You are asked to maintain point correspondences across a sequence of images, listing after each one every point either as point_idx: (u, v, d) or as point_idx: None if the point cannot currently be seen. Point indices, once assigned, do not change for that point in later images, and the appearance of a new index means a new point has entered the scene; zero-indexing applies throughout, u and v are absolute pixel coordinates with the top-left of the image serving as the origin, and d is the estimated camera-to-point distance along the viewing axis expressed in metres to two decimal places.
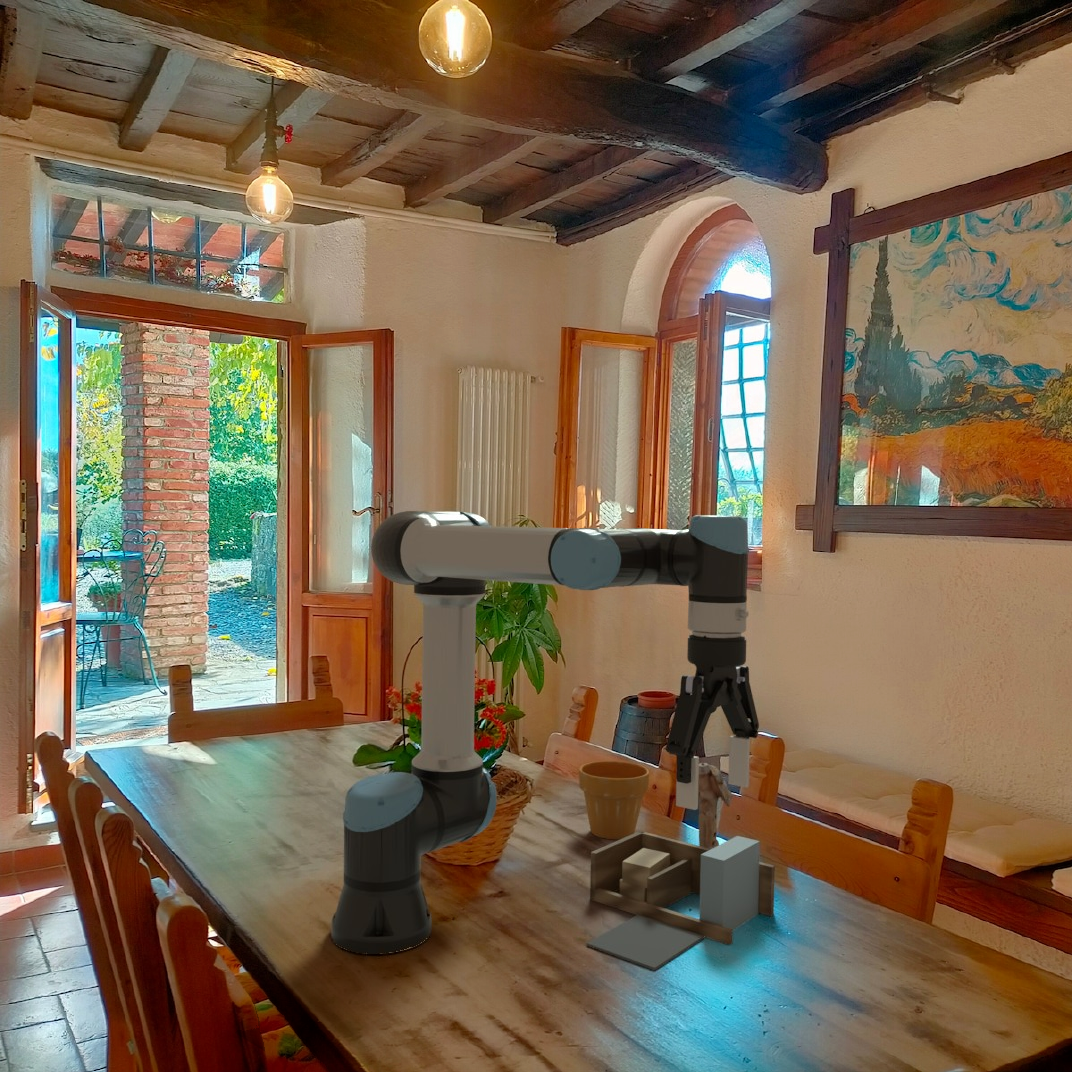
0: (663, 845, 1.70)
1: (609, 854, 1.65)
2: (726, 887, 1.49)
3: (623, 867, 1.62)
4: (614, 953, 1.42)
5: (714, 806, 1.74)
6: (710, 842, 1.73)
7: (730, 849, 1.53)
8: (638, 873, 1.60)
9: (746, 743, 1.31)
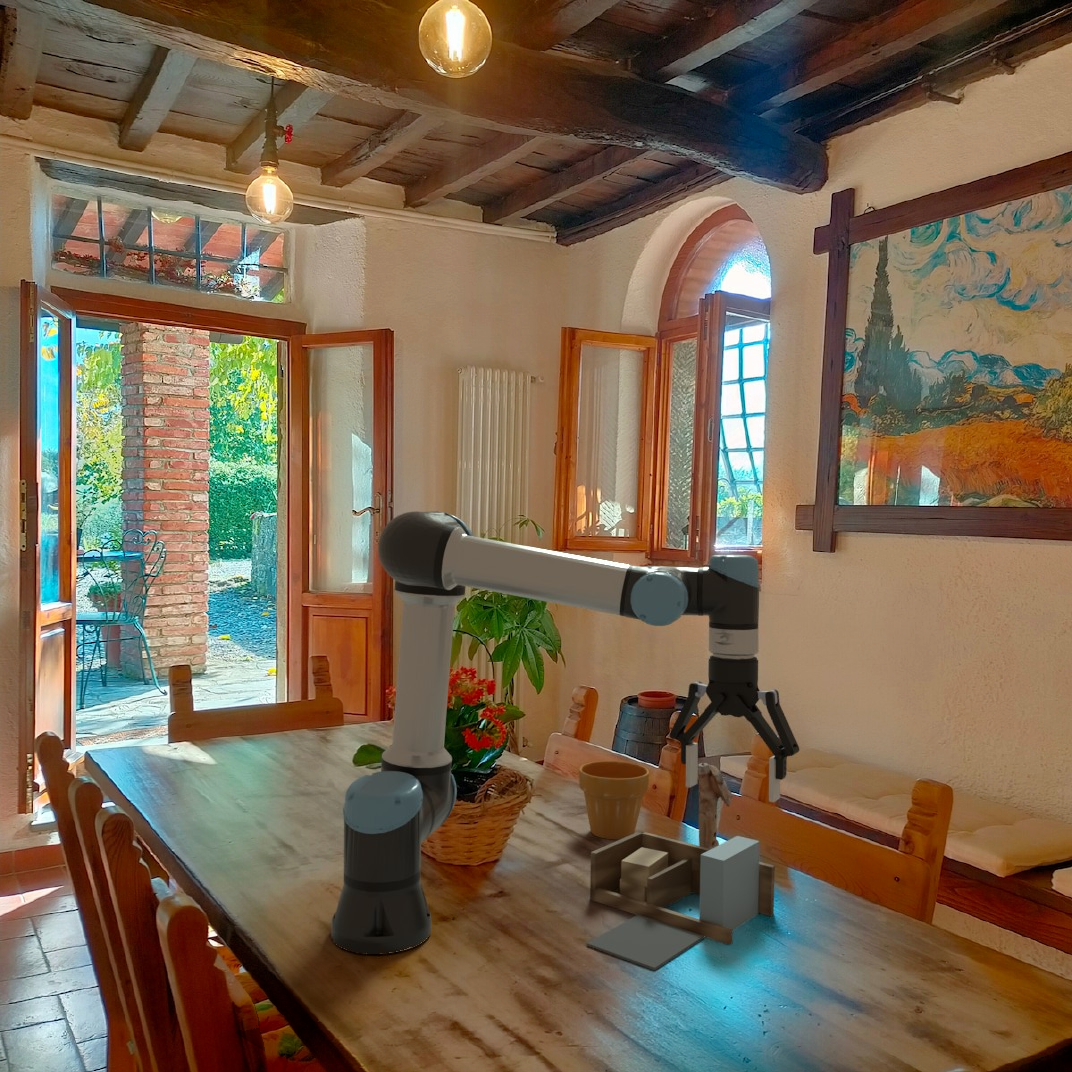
0: (663, 845, 1.70)
1: (609, 854, 1.65)
2: (726, 887, 1.49)
3: (622, 866, 1.62)
4: (614, 953, 1.42)
5: (714, 806, 1.74)
6: (710, 842, 1.73)
7: (730, 849, 1.53)
8: (637, 872, 1.61)
9: (769, 761, 1.45)
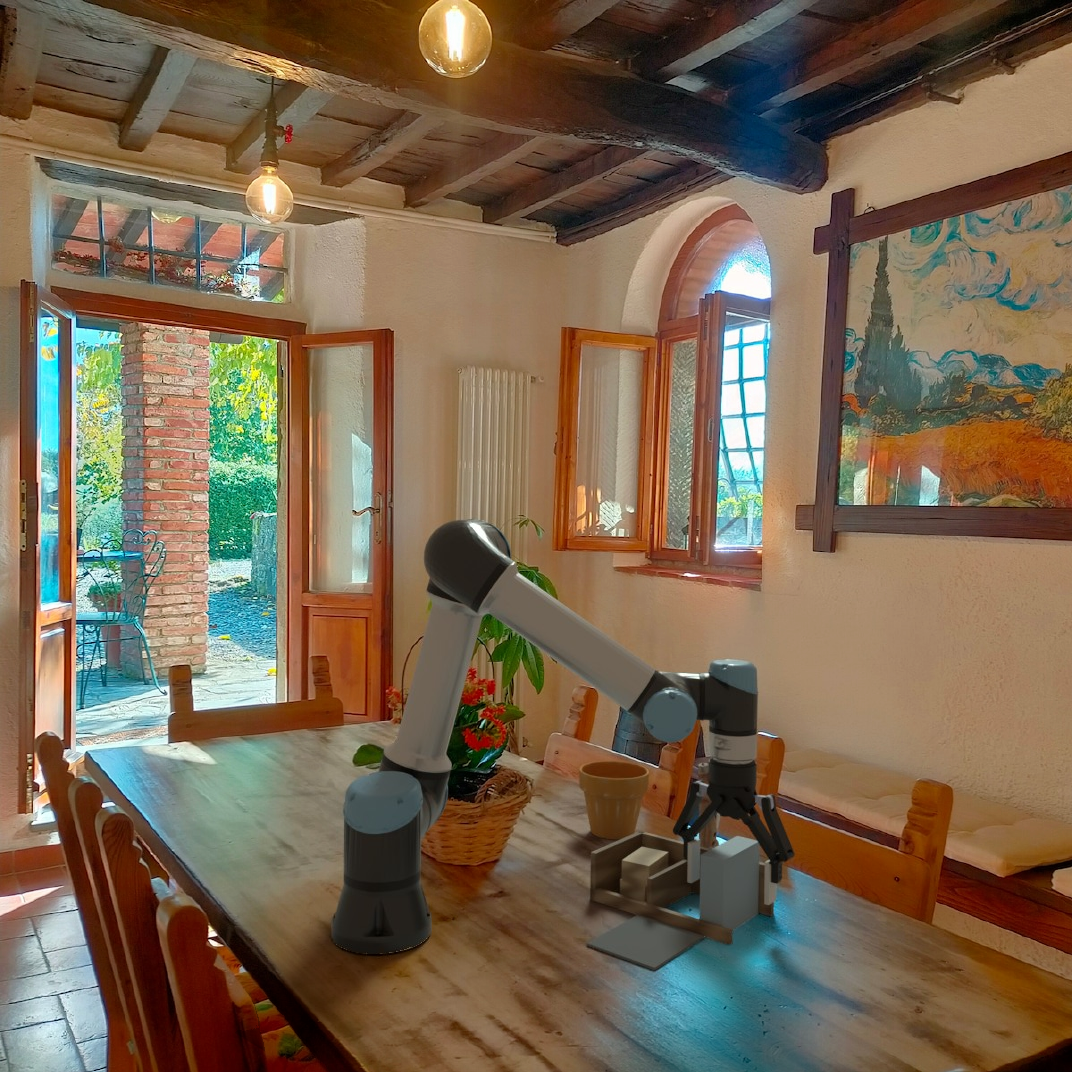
0: (663, 845, 1.70)
1: (609, 854, 1.65)
2: (726, 887, 1.49)
3: (622, 866, 1.62)
4: (614, 953, 1.42)
5: None
6: (710, 842, 1.73)
7: (730, 849, 1.53)
8: (637, 872, 1.61)
9: (765, 865, 1.49)
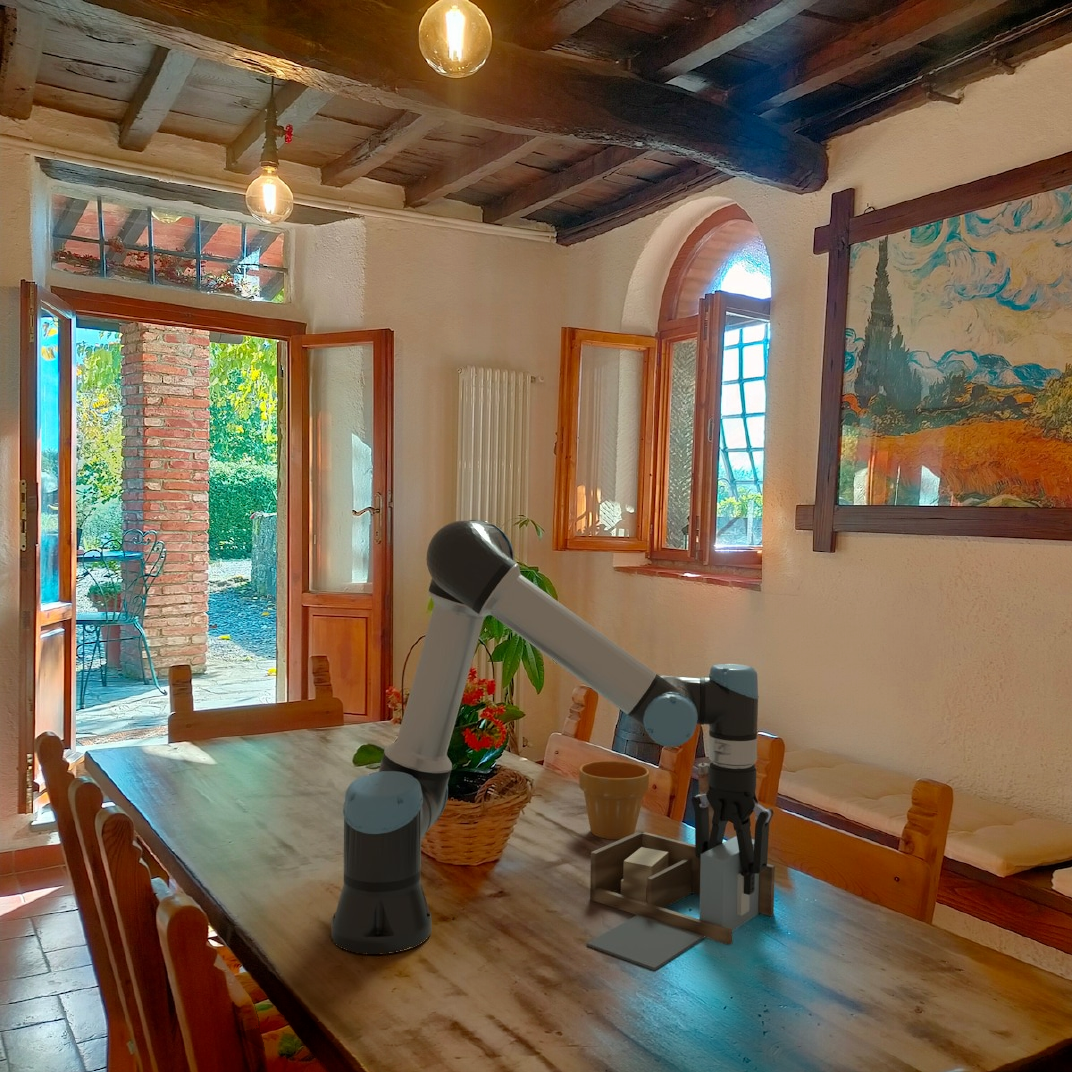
0: (663, 845, 1.70)
1: (609, 854, 1.65)
2: (726, 886, 1.49)
3: (624, 867, 1.62)
4: (614, 953, 1.42)
5: None
6: None
7: (730, 849, 1.53)
8: (640, 872, 1.61)
9: None
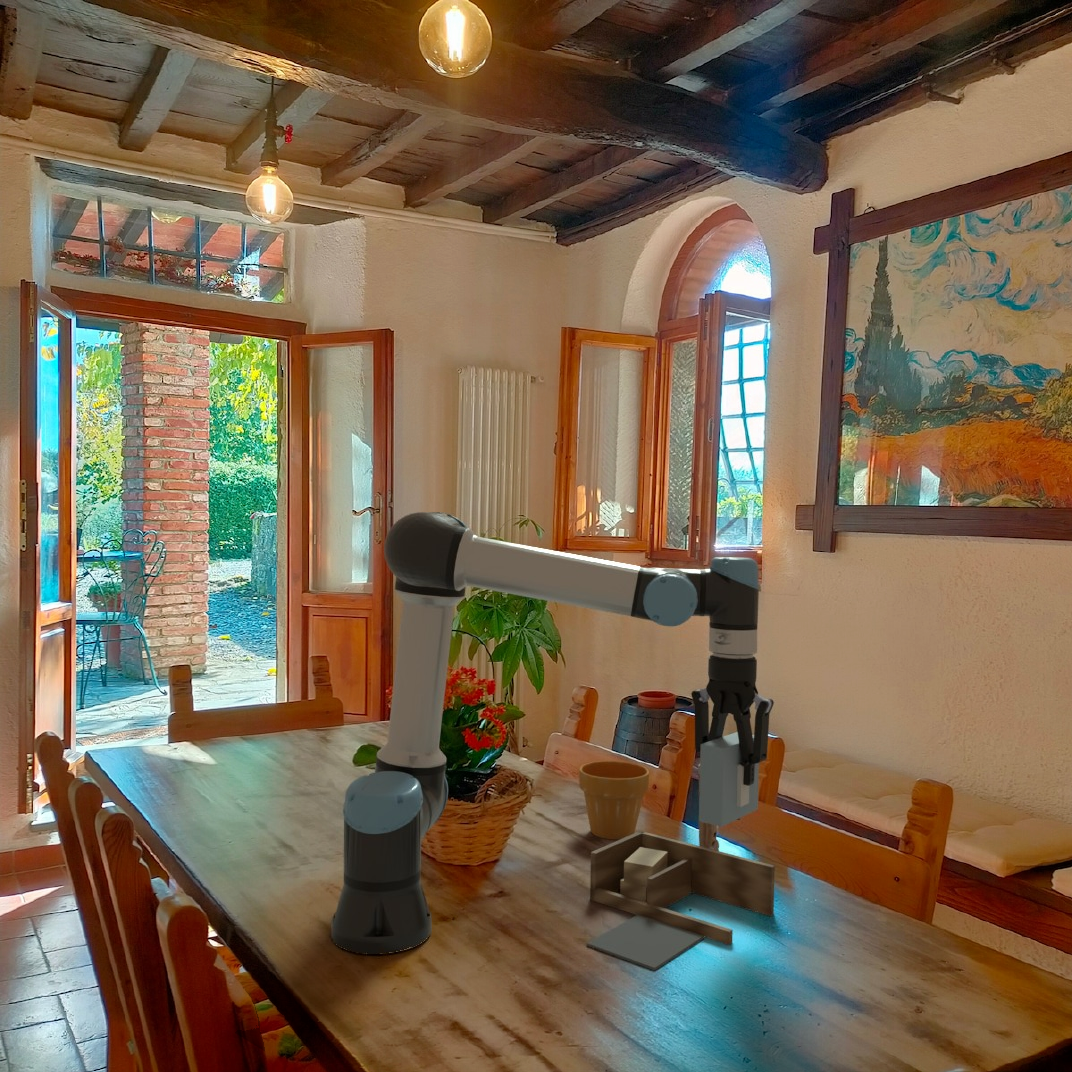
0: (663, 845, 1.70)
1: (609, 854, 1.65)
2: (726, 775, 1.49)
3: (625, 867, 1.62)
4: (614, 953, 1.42)
5: None
6: (710, 842, 1.73)
7: (730, 741, 1.53)
8: (640, 873, 1.61)
9: None
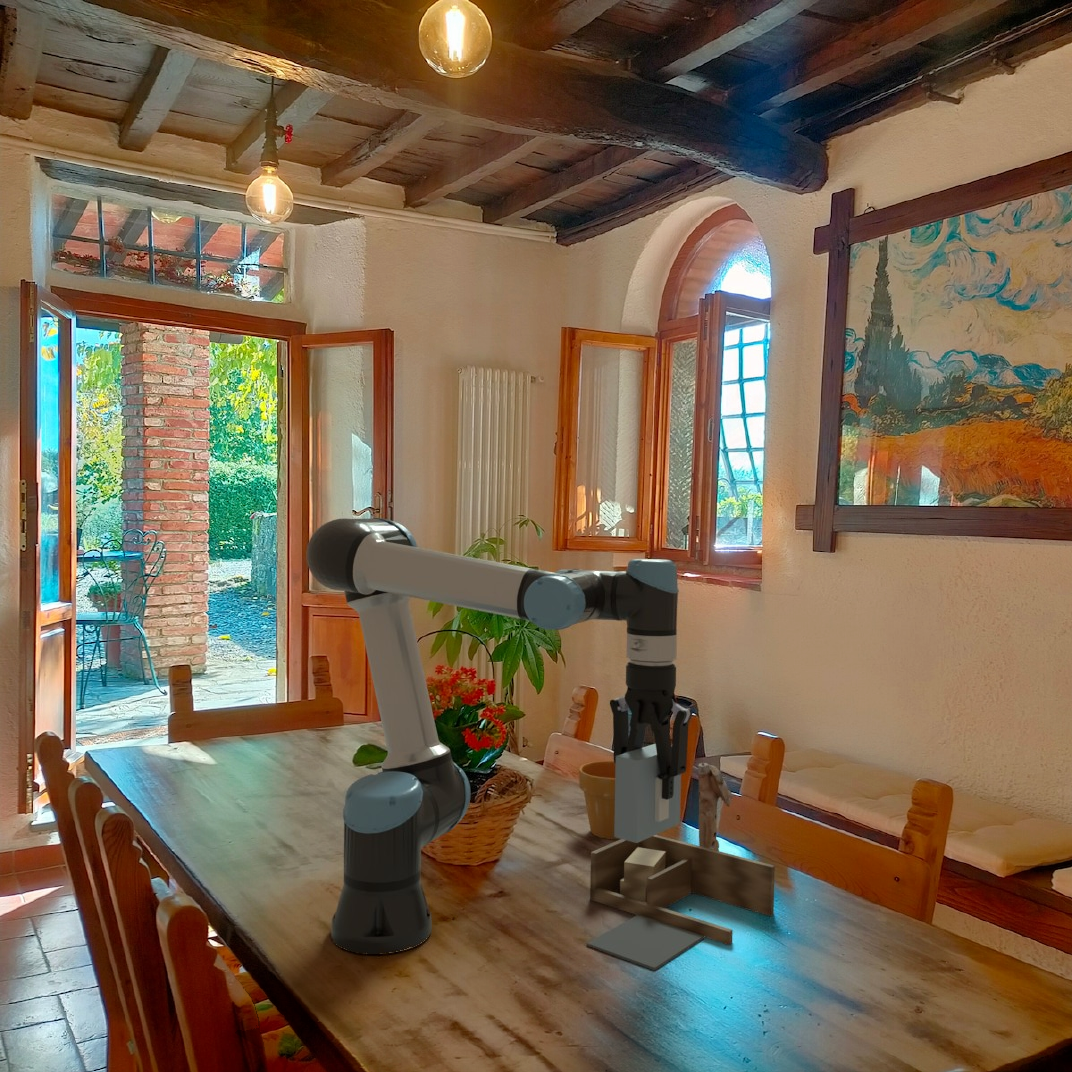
0: (663, 845, 1.70)
1: (609, 854, 1.65)
2: (642, 789, 1.41)
3: (625, 867, 1.62)
4: (614, 953, 1.42)
5: (714, 806, 1.74)
6: (710, 842, 1.73)
7: (648, 752, 1.45)
8: (641, 873, 1.61)
9: (655, 780, 1.44)
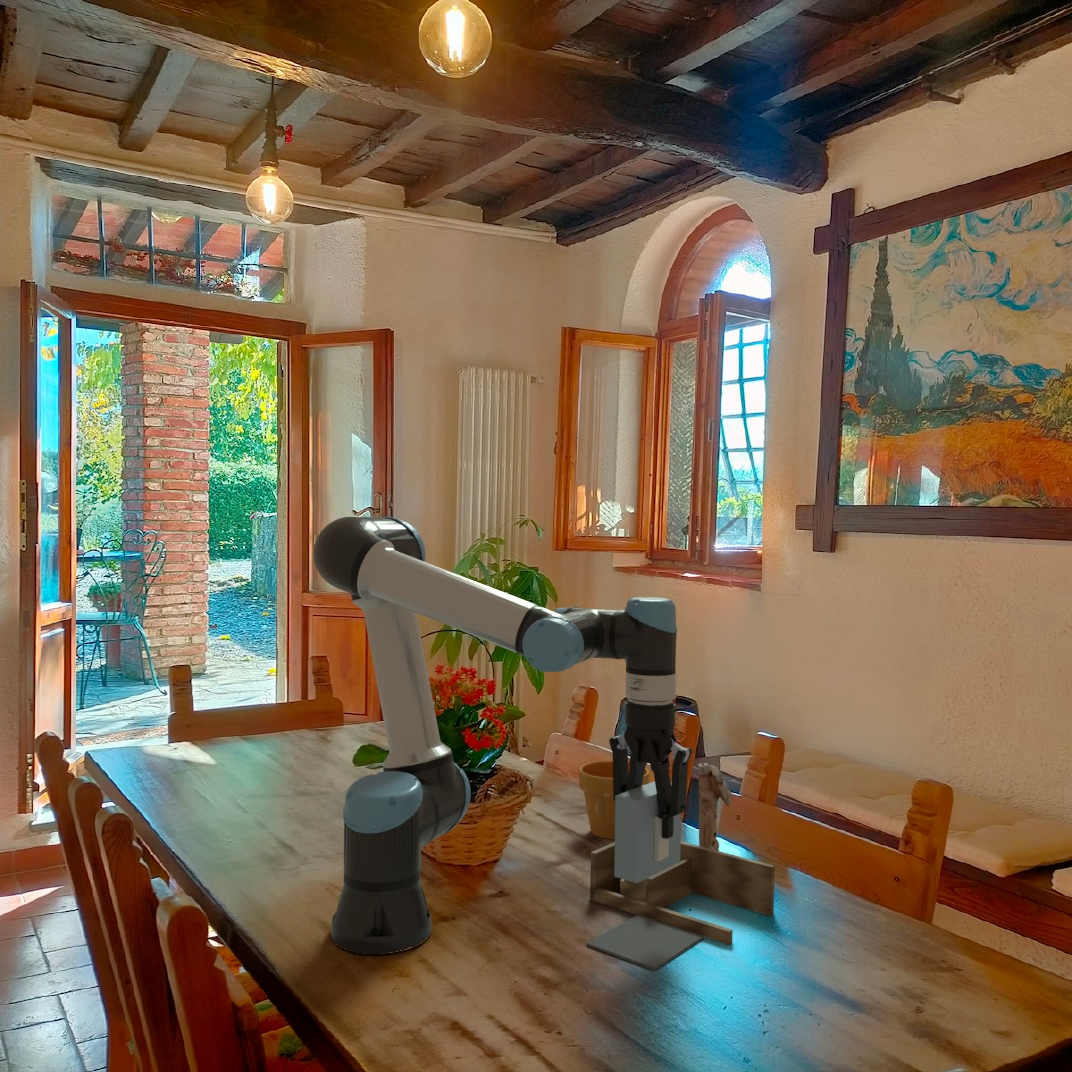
0: None
1: (609, 854, 1.65)
2: (642, 829, 1.41)
3: None
4: (614, 953, 1.42)
5: (714, 806, 1.74)
6: (710, 842, 1.73)
7: (648, 791, 1.45)
8: None
9: (655, 820, 1.44)
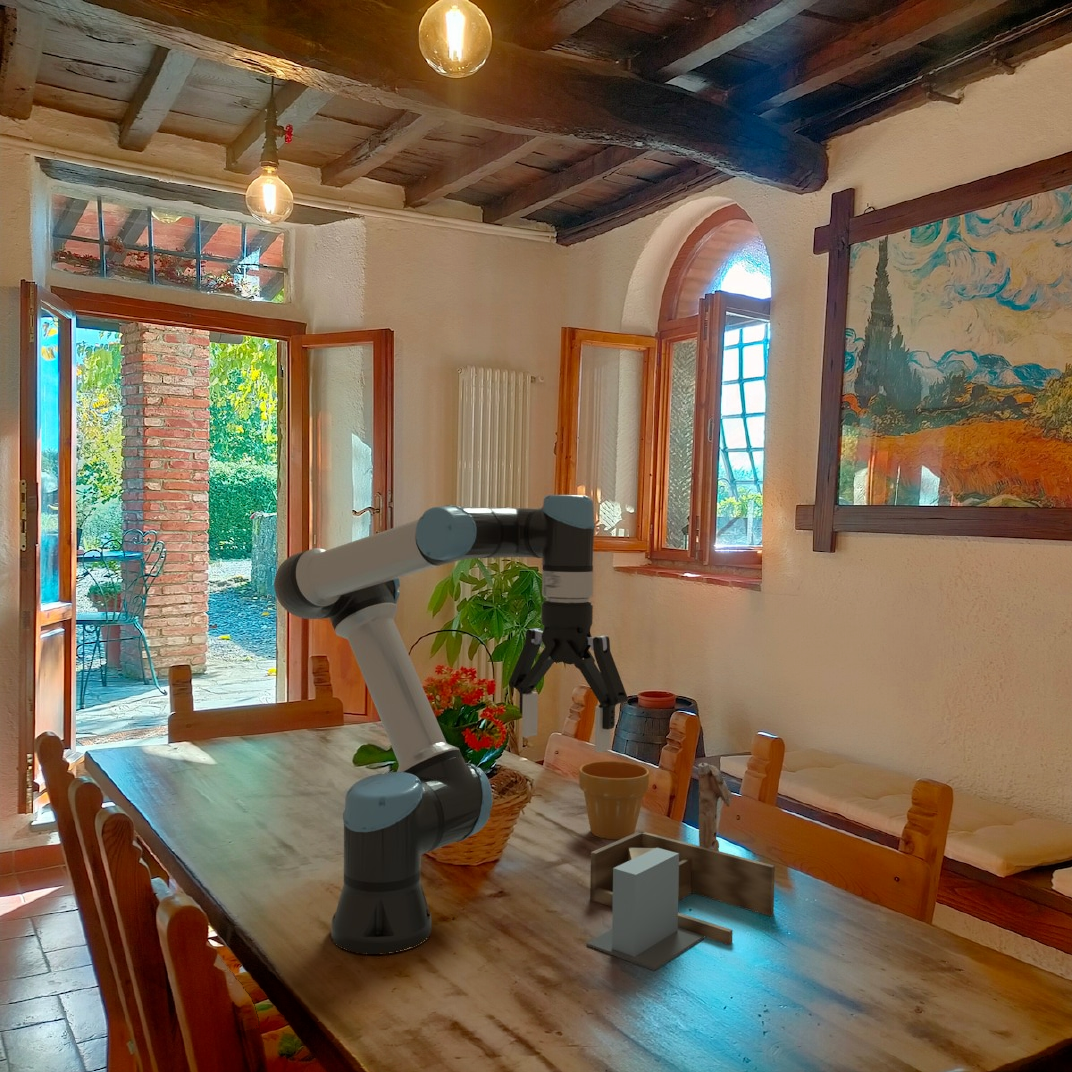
0: (663, 845, 1.70)
1: (609, 854, 1.65)
2: (639, 902, 1.41)
3: None
4: (614, 953, 1.42)
5: (714, 806, 1.74)
6: (710, 842, 1.73)
7: (645, 862, 1.46)
8: None
9: (596, 710, 1.38)
